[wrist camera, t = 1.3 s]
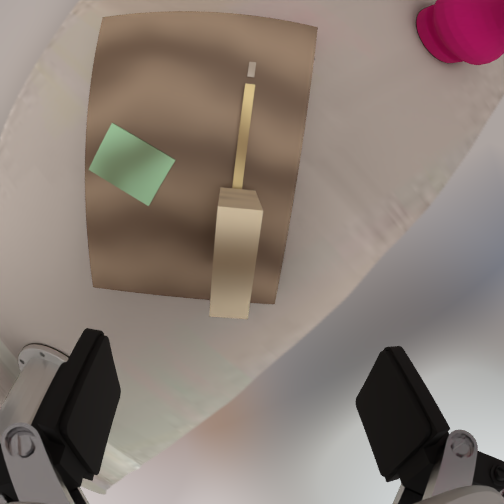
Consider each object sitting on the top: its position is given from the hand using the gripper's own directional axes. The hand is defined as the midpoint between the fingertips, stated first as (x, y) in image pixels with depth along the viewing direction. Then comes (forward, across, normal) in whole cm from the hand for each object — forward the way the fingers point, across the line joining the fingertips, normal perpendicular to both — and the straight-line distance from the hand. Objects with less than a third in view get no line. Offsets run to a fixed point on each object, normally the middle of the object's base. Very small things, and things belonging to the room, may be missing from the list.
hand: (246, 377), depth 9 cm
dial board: (+17, +4, -5) cm, 18 cm away
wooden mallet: (+15, 0, -3) cm, 16 cm away
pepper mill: (+18, -17, -22) cm, 33 cm away
